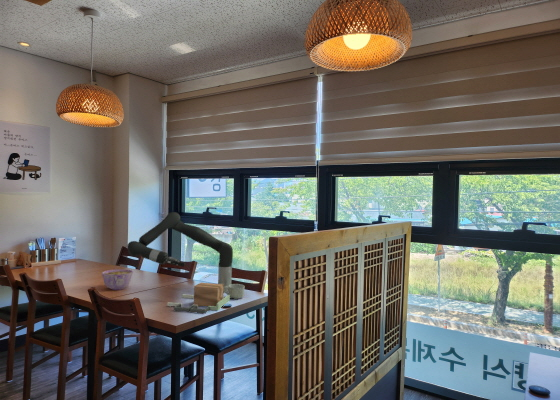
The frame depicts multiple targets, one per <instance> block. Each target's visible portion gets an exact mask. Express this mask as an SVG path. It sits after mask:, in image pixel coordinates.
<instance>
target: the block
mask: <svg viewBox="0 0 560 400" xmlns="http://www.w3.org/2000/svg"><path fill="white" fill-rule="evenodd" d="M193 295H194V299H193V305H198V307H202V306H207V307H208V306H216V307H217V303H218V302H219V301H221V300H222V299H223V298H224V292H223V284H218V283H212V282H199V283H197V284H195V285H194V286H193ZM207 307H206V308H207Z"/></svg>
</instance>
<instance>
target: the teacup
mask: <svg viewBox="0 0 560 400" xmlns="http://www.w3.org/2000/svg"><path fill="white" fill-rule="evenodd" d="M225 288H227V289H228V292H226V291H225ZM223 291H224V292H223V293H225V294H226V296H227V295H230V298H231V299H232V298H234V299H233V300H239V298H240V299H242V297H244V295H245V285H244V284H240V283H231V285H229V286H228V287H227V286H225V287H224V288H223Z"/></svg>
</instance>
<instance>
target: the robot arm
mask: <svg viewBox="0 0 560 400" xmlns="http://www.w3.org/2000/svg"><path fill="white" fill-rule="evenodd" d="M168 229H172V230H174V231H176V232H178V233H180V234H182V235H184V236H185V237H188V238H190V239H191V240H192V241H194V242H196V243H198V244H200V245H202V246H205V247H208V248H210V249H212V250H214V251H216V252H217V253H218V254H219V260H218V267H217V268H218V271H217V272H218V274H217V275H218V277H217V284H223V288H224V287H225V286H227V287H228V286H229V285H231V284H232V272H233V269H232V266H233V265H232V264H233V259H234V258H233V257H234V255H233V254H234V248H233V247H232V245H231V244H229V243H227V242H225V241H223V240H219V239H217V238H216V237H214V236H213V235H212V234H210V233H209V232H208V231H206V230H204V229H202V228H201V227H198V226H195V225H190V224H187V223H185V222H183V221H181V216H180V214H179V213H178V212H175V211H171V212H169V213H167V214H166V216H165V217H164V218H163V220H161V221H160V222H159V223H158V224H157V225H155V226H154V227H152V228H151V229H149V230H148V231H146V232H144V233H143V234H142V235H141V236H140V237H139V239H138V241H137V240H132V241H129V242H128V243H127V245H126V246H127V251H128V254H129V255H130V256H131V257H137V256H139V255H140V256H141V257H142V258H143V259H146V260H149V261H151V262H154V263H157V264H160V265H165V264H167V265H173V266H180V267H185V266H186V263H185V262H184V261H180V259H177V258H176V257H173V256H169V253H168V252H165V251H162V250H159V249H155V248H151V247H148V246H149V245H150V244H151V243H153V242H154V241H155V240H156V239H158V238H159V237H160V236H161V235H162V234H163V233H164V232H166V231H167V230H168ZM225 291H226V292H228V289H227V288H225ZM223 293H225V292H224V291H223Z"/></svg>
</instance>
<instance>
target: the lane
mask: <svg viewBox="0 0 560 400" xmlns="http://www.w3.org/2000/svg"><path fill="white" fill-rule="evenodd" d="M181 298H182V299H192V298H193V300H194V294H184V293H183V294H181ZM230 298H231V297H230V295H227V294H226V296H224V297H223V299H222V300H221V301H219V302H218V303H217V307H216V306H208V307H204V308H199V306H198V305H194V304H191V305H190V306H188V307H186V306H183V303H182V302H169V301H168V302H167V304H166V306H167V307H171V306H175V307H173V311H174V310H175V311H174V312H181V311H187V312H186V313H192V312H197V313H196V314H203V313H205V314H206V312H207V311H208V312H210V311H217V310H218V311H219V310H221V309H222V308H223V307H224V306H225V305H224V304H226V303H227V302H228V301H229V302H230V301H231V299H230ZM229 302H228V303H229ZM228 303H227V304H228ZM227 304H226V305H227ZM223 305H224V306H223ZM222 306H223V307H222ZM221 307H222V308H221ZM220 308H221V309H220ZM189 311H190V312H189ZM208 312H207V313H208Z"/></svg>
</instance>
